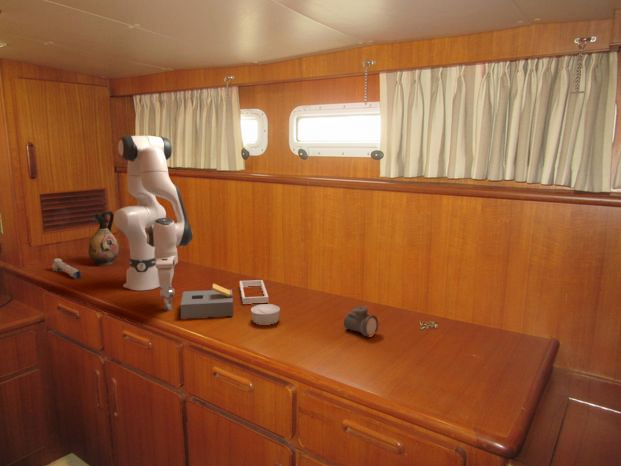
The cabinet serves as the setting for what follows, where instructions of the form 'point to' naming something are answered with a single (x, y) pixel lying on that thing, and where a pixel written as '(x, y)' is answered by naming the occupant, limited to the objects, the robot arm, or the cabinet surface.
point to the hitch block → (205, 304)
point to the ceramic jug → (103, 241)
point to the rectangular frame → (253, 299)
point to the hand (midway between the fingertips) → (168, 291)
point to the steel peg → (167, 298)
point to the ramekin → (265, 314)
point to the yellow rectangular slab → (222, 290)
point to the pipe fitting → (361, 321)
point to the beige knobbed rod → (65, 268)
